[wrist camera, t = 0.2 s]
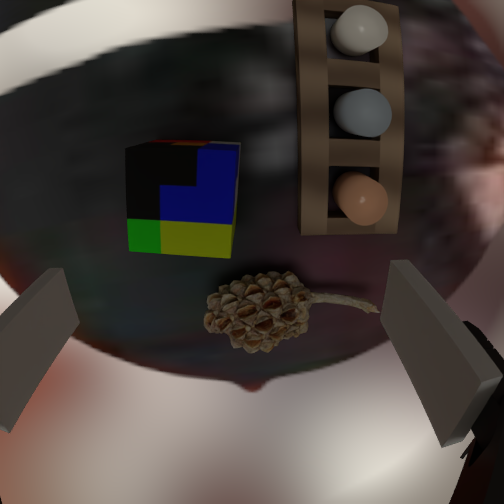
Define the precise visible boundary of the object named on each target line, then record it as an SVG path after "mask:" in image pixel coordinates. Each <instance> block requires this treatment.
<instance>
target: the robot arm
mask: <svg viewBox="0 0 504 504" xmlns="http://www.w3.org/2000/svg"><path fill="white" fill-rule="evenodd" d="M380 321H381V323H382V325H383V327H384V329H385V330H386V332H387V334H388V336H389V338H390V340H391V342H392V344H393V346H394V347H395V350H396V352H397V353H398V355H399V357H400V359H401V361H402V363H403V365H404V367H405V369H406V371H407V373H408V375H409V377H410V379H411V382H412V384H413V386H414V388H415V390H416V392H417V394H418V396H419V398H420V400H421V402H422V405H423V407H424V409H425V411H426V413H427V416H428V417H429V420H430V422H431V424H432V427H433V429H434V431H435V433H436V436H437V438H438V440H439V442H440V445H441V447H442V448H443V447H446V446H449V445H452V444H455V443H458V442H461V441H463V440H464V438H465V437H466V435H467V434H468V432H469V431H470V429H471V430H472V432H473V434H474V436H475V438H474V439H473V440H472V442H471V443H470V444H469V446H468V447H467V448H466V450H465V451H464V453H463V454H462V456H461V457H460V458H462V459H463V458H464V457H465V455H466V454H467V453H468V454H467V457H466V460H465V463H464V466H463V469H462V472H461V474H460V477H459V480H458V483H457V485H456V488H455V490H454V493H453V495H452V497H451V500H450V502H449V504H504V359H503V358H502V357H501V355H500V354H499V353H498V351H497V350H496V349H494V348H493V345H492V344H491V343H490V341H487V338H486V336H485V335H484V334H483V333H482V332H481V330H480V329H479V328H477V327H476V326H474V325H473V324H471V323H470V322H468V321H461V320H460V319H459V317H458V316H457V315H456V314H455V312H454V311H453V310H452V309H451V308H450V307H449V306H448V304H447V303H446V302H445V301H444V299H443V298H442V297H441V296H440V295H439V294H438V293H437V291H436V290H435V289H434V288H433V287H432V286H431V285H430V283H429V282H428V281H427V280H426V279H425V278H424V277H423V276H422V275H421V273H420V272H419V271H418V270H417V269H416V268H415V267H414V266H413V265H412V264H411V263H410V261H409V260H391V262H390V268H389V274H388V280H387V286H386V292H385V297H384V302H383V307H382V312H381V317H380ZM79 323H80V322H79V319H78V316H77V313H76V310H75V307H74V304H73V301H72V298H71V295H70V292H69V288H68V285H67V281H66V278H65V274H64V271H63V268H49V269H48V270H47V271H46V272H44V273H43V274H42V275H41V276H40V277H39V278H38V279H37V280H36V281H35V282H34V283H33V284H32V285H31V286H29V287H28V288H27V289H26V290H25V291H24V292H23V293H22V294H21V295H20V296H19V297H18V298H17V299H16V300H15V301H14V302H13V303H12V304H11V305H10V306H9V307H8V308H7V309H6V310H5V311H4V312H3V313H2V314H1V315H0V429H1V430H3V431H5V432H8V433H10V432H11V430H12V428H13V427H14V425H15V423H16V422H17V420H18V418H19V416H20V415H21V413H22V411H23V409H24V408H25V406H26V404H27V403H28V401H29V399H30V398H31V396H32V394H33V393H34V391H35V390H36V388H37V386H38V384H39V383H40V381H41V380H42V378H43V377H44V375H45V374H46V372H47V370H48V369H49V367H50V366H51V364H52V363H53V361H54V360H55V358H56V356H57V355H58V354H59V352H60V351H61V349H62V348H63V346H64V345H65V343H66V342H67V340H68V339H69V337H70V336H71V335H72V333H73V332H74V330H75V329H76V327H77V326H78V325H79ZM0 504H2V501H1V498H0Z"/></svg>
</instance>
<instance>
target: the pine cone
mask: <svg viewBox="0 0 504 504" xmlns="http://www.w3.org/2000/svg"><path fill="white" fill-rule="evenodd" d="M320 302H328V303H336V304H343V305H350V306H354V307H357V308H360V309H363V310H364V311H365V312H367V313H370V312H377V313H380V312H379V311H378V310H377V307H376V305H375V304H373V303H372V302H371V301H370V300H367V299H365V298H358V297H353V296H346V295H337V294H329V293H315V292H310V290H309V289H308V288H305V287H304V285H303V284H302V283H300V282H299V280H298V278H297V277H296V276H295V275H294V274H293V273H292V272H289V271H287V272H286V273H285V274H280V273H277V272H274V271H272V272H268V273H267V274H266V275H264V274H261V273H259V274H258V275H256V276H255V277H252V276H251V275H245V276H243V277H242V279H241V281H236V280H234V281H233V282H232V283H231V284H230V285H222V286H219V292H218V293H214V294H211V295H209V296H208V298H207V304H208V307H207V308H208V310H206V313H205V315H204V327H205V328H206V329H207V330H208V332H210V333H212V332H215V333H222V334H223V332H225V333H226V334H227V335H229V336H230V339H231V344H232V346H233V348H239V347H243V348H244V349H245V350H246V351H247V352H248V353H254V352H256V351H258V350H259V349H261V350H262V351H265V352H267V353H268V352H269V351H271V350H272V349H273V347H274V346H277V345H278V344H279V342H280V341H281V340H282V339H289V338H290V337H292V336H294V337H295V338H297V337H298V336H299V334H302V333H305V332H307V329H308V323H307V320H308V318H309V309H310V307H311V305H312V303H320Z"/></svg>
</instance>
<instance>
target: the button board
mask: <svg viewBox="0 0 504 504" xmlns="http://www.w3.org/2000/svg"><path fill="white" fill-rule="evenodd" d="M355 5H364V6H368V7H371V8H373V9H375V10H376V11H377V12H379V13H380V14H381V15H382V17H383V18H384V19H385V21H386V23H387V26H388V36H387V39H386V41H385V42H384V43H383V44H382V45H381V46H379V47H377V48H375V49H373V50H371V51H370V62H362V61H352V60H342V59H328V58H327V48H326V31H325V18H334V19H338V18H339V17H340V16H341V15H342V14H343V13H344V12H345V11H346V10H347V9H348V8H350V7H352V6H355ZM292 6H293V22H294V40H295V62H296V89H297V129H298V229H299V232H300V234H301V235H340V234H396V233H397V227H398V218H399V209H400V198H401V186H402V171H403V152H404V72H403V54H402V40H401V29H400V19H399V11H398V6H394V5H389V4H384V3H379V2H373V1H368V0H293V1H292ZM328 87H332V88H348V89H373V90H376V91H378V92H380V93H381V94H382V95H383V96H384V97H385V98H386V99H387V100H388V102H389V104H390V107H391V111H392V119H391V123H390V125H389V127H388V128H387V130H386V131H385V132H384V133H382V134H381V135H379V136H375V137H371V139H362V138H341V137H329V101H328ZM329 166H361V167H371V169H370V178H371V179H373V180H375V181H376V182H378V183H380V184H381V185H382V186H383V187H384V189H385V191H386V193H387V196H388V206H387V210H386V212H385V214H384V215H383V217H382V218H381V219H380V220H379V221H377V222H376V223H374V224H371V225H367V226H362V225H358V224H355V223H354V222H352V221H351V220H350V219H349V218H348V217H347V216H346V215H345V213H344V212H343V211H328V179H329Z"/></svg>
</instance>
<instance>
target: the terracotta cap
mask: <svg viewBox="0 0 504 504" xmlns="http://www.w3.org/2000/svg"><path fill="white" fill-rule="evenodd" d="M332 194H333V199H334V201H335V203H336V204H337V206H338V207H339V208H340V209H341V210H342V211H343V212H344V213H345V215H346V216H347V217H348V218H349V219H350V220H351V221H352V222H354V223H355V224H358V225H362V226H367V225H371V224H374V223H376V222H377V221H379V220H380V219H381V218H382V217H383V215H384V214H385V212H386V210H387V206H388V196H387V193H386V191H385V189H384V187H383V186H382V185H381V184H380V183H378V182H376V181H375V180H373V179H371V178H369V177H368V176H366V175H364V174H362V173H361V172H358V171H348V172H345V173H343V174H342V175H340V176H339V177H338V178H337V179H336V181H335V183H334V185H333V190H332Z"/></svg>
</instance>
